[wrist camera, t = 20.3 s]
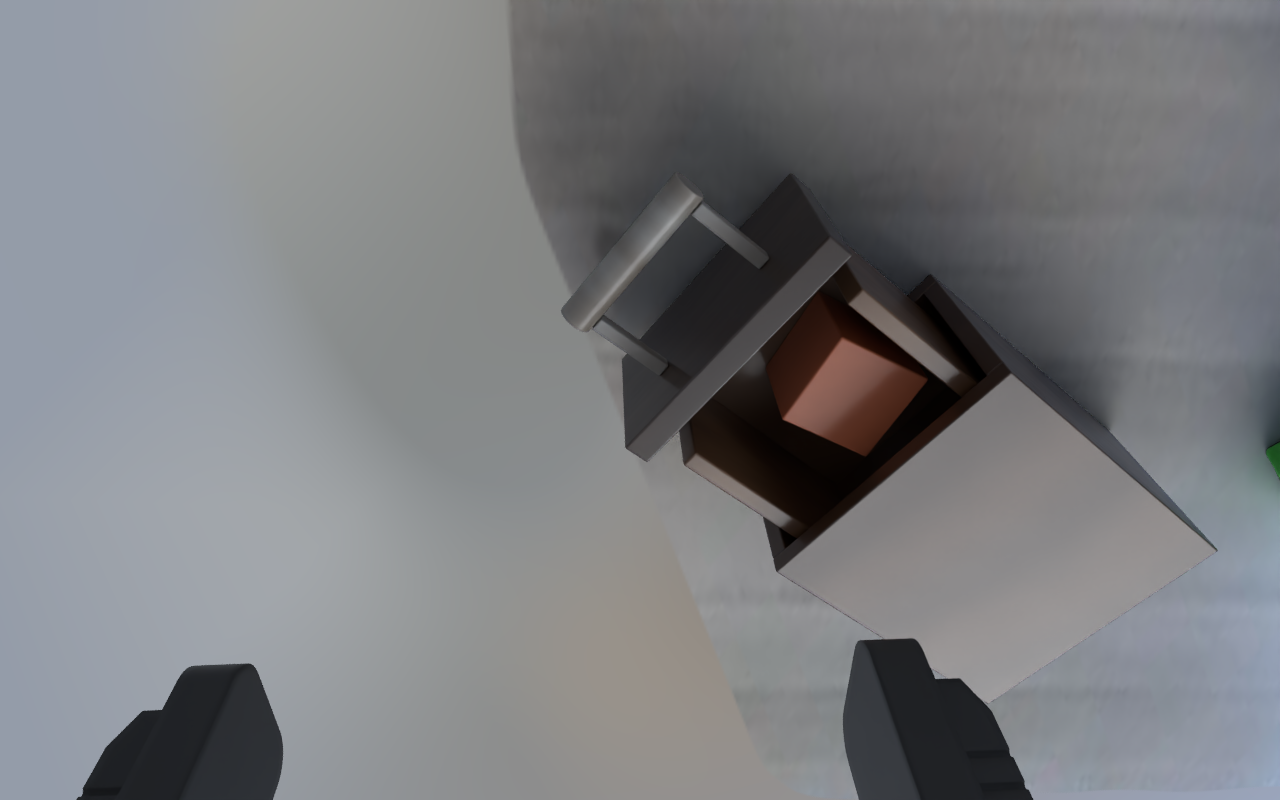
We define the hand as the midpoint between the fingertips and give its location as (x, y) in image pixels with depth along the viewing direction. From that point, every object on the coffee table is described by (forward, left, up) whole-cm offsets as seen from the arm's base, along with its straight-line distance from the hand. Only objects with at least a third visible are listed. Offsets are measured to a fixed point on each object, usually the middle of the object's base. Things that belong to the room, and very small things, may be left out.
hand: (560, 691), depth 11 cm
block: (+9, -8, -24) cm, 27 cm away
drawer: (+8, -8, -27) cm, 29 cm away
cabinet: (+17, -16, -28) cm, 36 cm away
